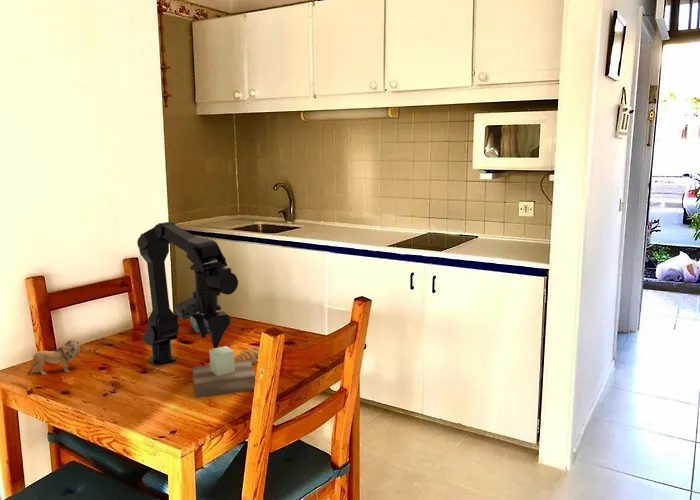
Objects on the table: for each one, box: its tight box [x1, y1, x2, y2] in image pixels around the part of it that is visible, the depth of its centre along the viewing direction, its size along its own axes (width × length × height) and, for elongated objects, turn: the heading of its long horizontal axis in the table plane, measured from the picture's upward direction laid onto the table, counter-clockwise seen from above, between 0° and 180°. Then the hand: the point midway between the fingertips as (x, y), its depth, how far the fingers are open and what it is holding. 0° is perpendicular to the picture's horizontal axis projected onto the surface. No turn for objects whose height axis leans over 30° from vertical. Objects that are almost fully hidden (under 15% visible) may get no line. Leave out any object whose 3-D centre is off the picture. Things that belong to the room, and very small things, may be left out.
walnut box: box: [192, 360, 257, 399], centre depth 161 cm, size 12×16×4 cm
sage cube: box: [208, 345, 235, 376], centre depth 160 cm, size 5×5×6 cm
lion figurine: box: [26, 338, 81, 376], centre depth 172 cm, size 15×5×9 cm, turn 114°
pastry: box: [234, 347, 260, 365], centre depth 177 cm, size 9×7×4 cm
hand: (209, 342), depth 161 cm, fingers open, 9 cm apart
